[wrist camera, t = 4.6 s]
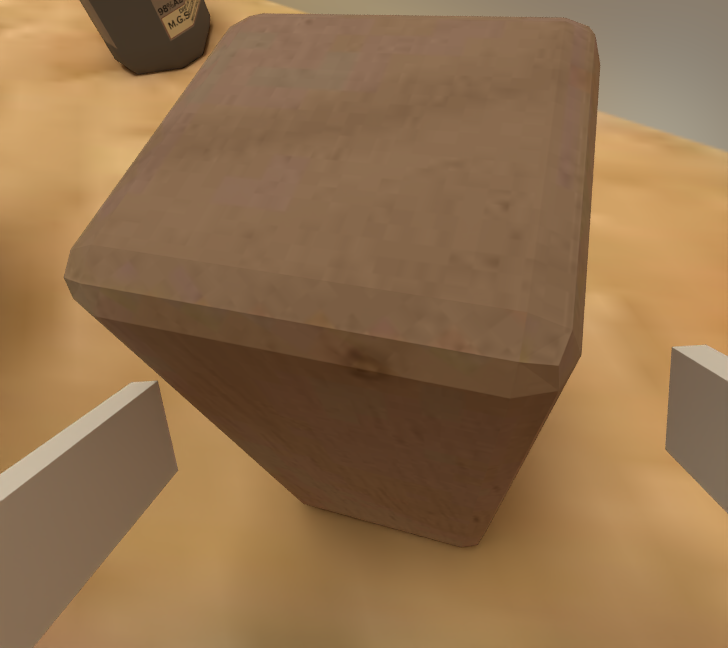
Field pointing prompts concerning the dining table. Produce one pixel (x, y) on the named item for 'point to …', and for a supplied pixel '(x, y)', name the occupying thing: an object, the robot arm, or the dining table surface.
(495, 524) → the dining table surface
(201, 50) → the liquor
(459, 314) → the wooden block
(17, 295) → the dining table surface
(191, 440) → the dining table surface
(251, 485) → the dining table surface
